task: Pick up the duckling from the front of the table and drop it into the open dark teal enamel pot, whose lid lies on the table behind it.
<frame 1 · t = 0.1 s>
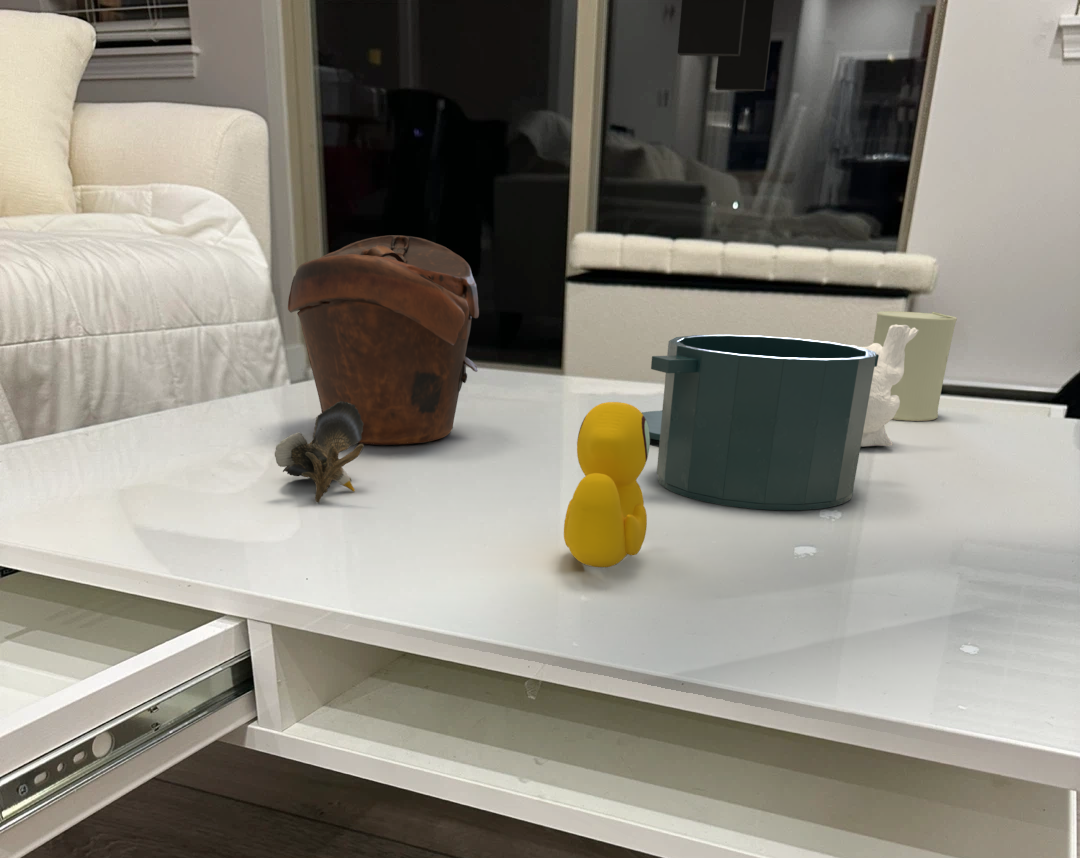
hand: (725, 75, 53), 27 cm above the table, tool pointing down, fingers open, 13 cm apart
duckling: (602, 563, 70), on the table
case: (389, 436, 105), on the table
green tapered cup: (898, 415, 130), on the table
eagle figurine: (326, 492, 84), on the table
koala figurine: (866, 447, 111), on the table
pot: (753, 485, 91), on the table
lid: (708, 430, 111), point 1 cm above the table
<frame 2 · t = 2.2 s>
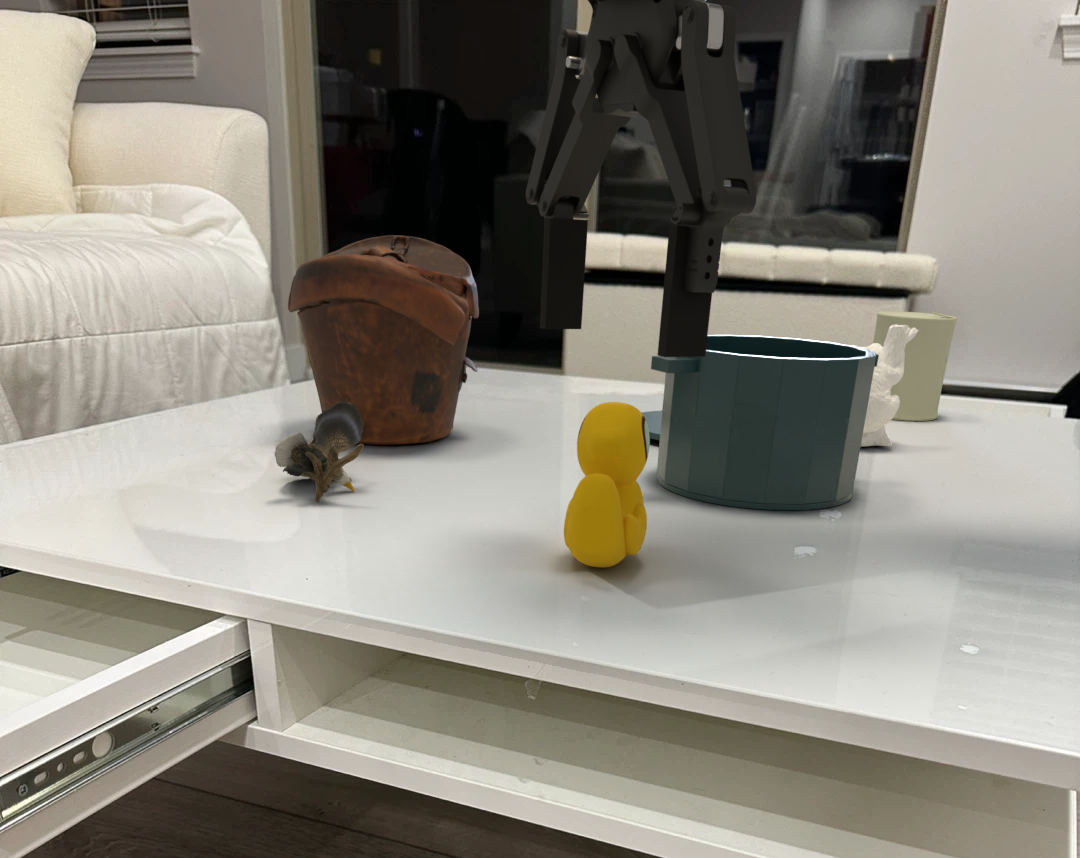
hand: (615, 342, 64), 14 cm above the table, tool pointing down, fingers open, 13 cm apart
nothing on the table moved.
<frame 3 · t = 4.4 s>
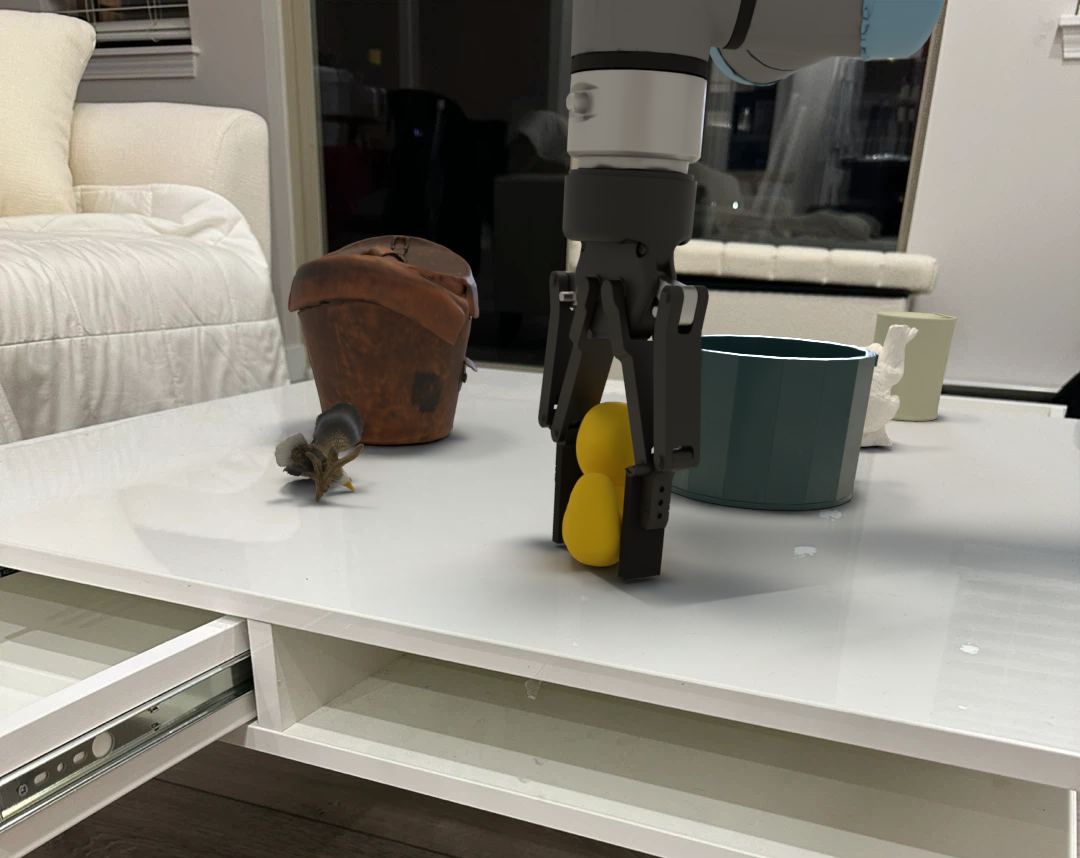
hand: (603, 557, 69), 0 cm above the table, tool pointing down, fingers closed on duckling, 8 cm apart
duckling: (601, 562, 70), on the table, touching gripper
everything else where it was.
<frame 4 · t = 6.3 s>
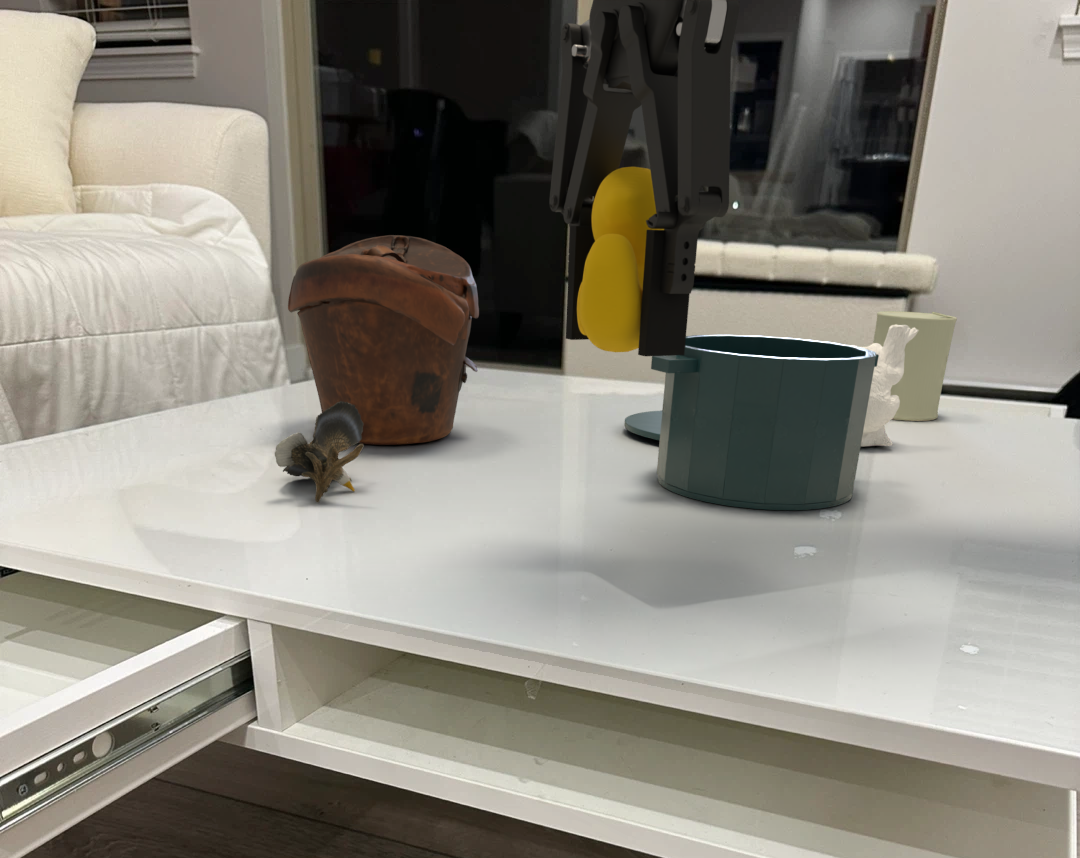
hand: (622, 345, 64), 13 cm above the table, tool pointing down, fingers closed on duckling, 8 cm apart
duckling: (619, 354, 64), point 13 cm above the table, touching gripper
everything else where it was.
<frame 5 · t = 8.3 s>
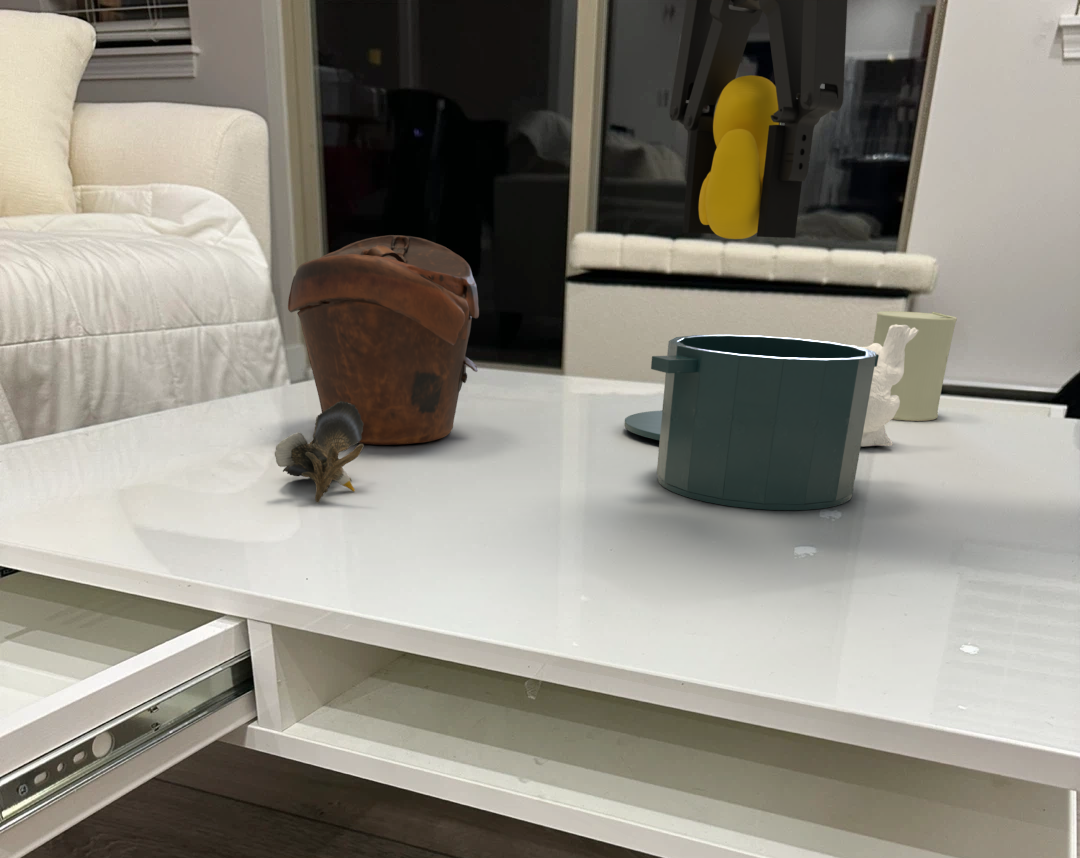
hand: (736, 234, 74), 20 cm above the table, tool pointing down, fingers closed on duckling, 8 cm apart
duckling: (733, 242, 74), point 19 cm above the table, touching gripper
everything else where it was.
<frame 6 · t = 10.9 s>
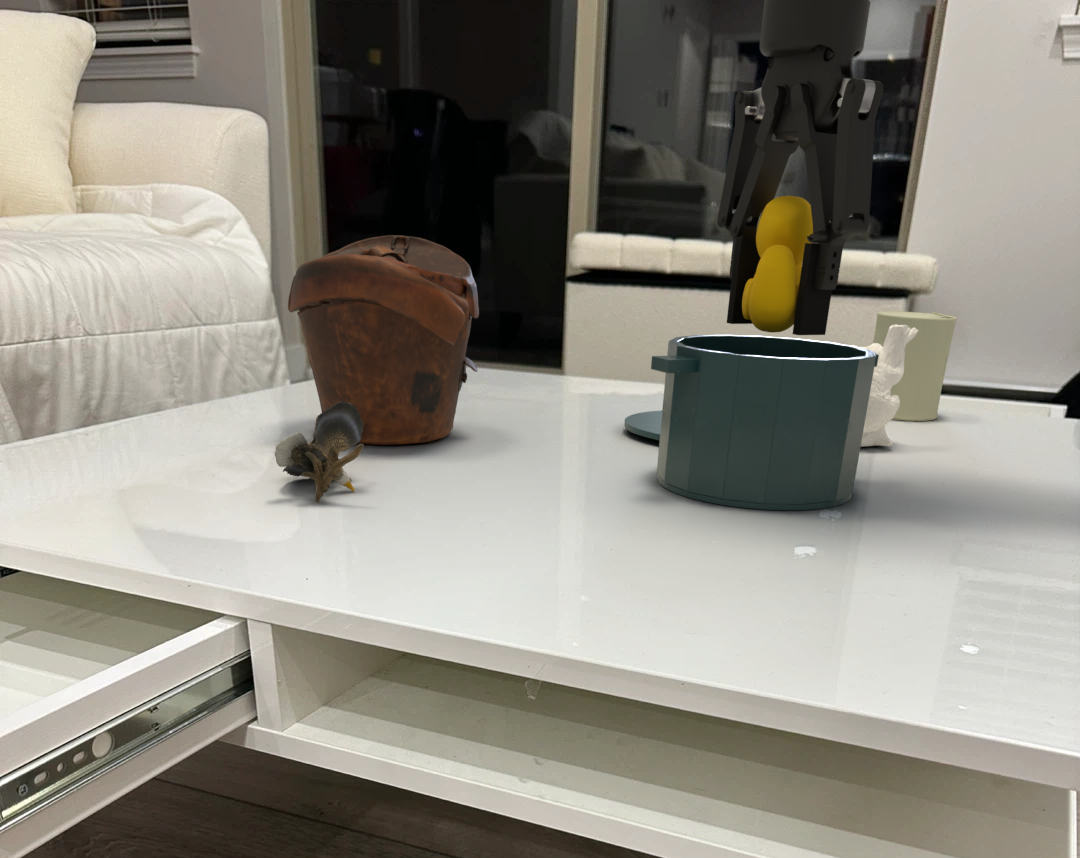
hand: (774, 328, 86), 13 cm above the table, tool pointing down, fingers closed on duckling, 8 cm apart
duckling: (771, 334, 86), point 12 cm above the table, touching gripper
everything else where it was.
when the fingers open (9 cm above the table, at t = 12.4 s): duckling drops 8 cm, resting on pot.
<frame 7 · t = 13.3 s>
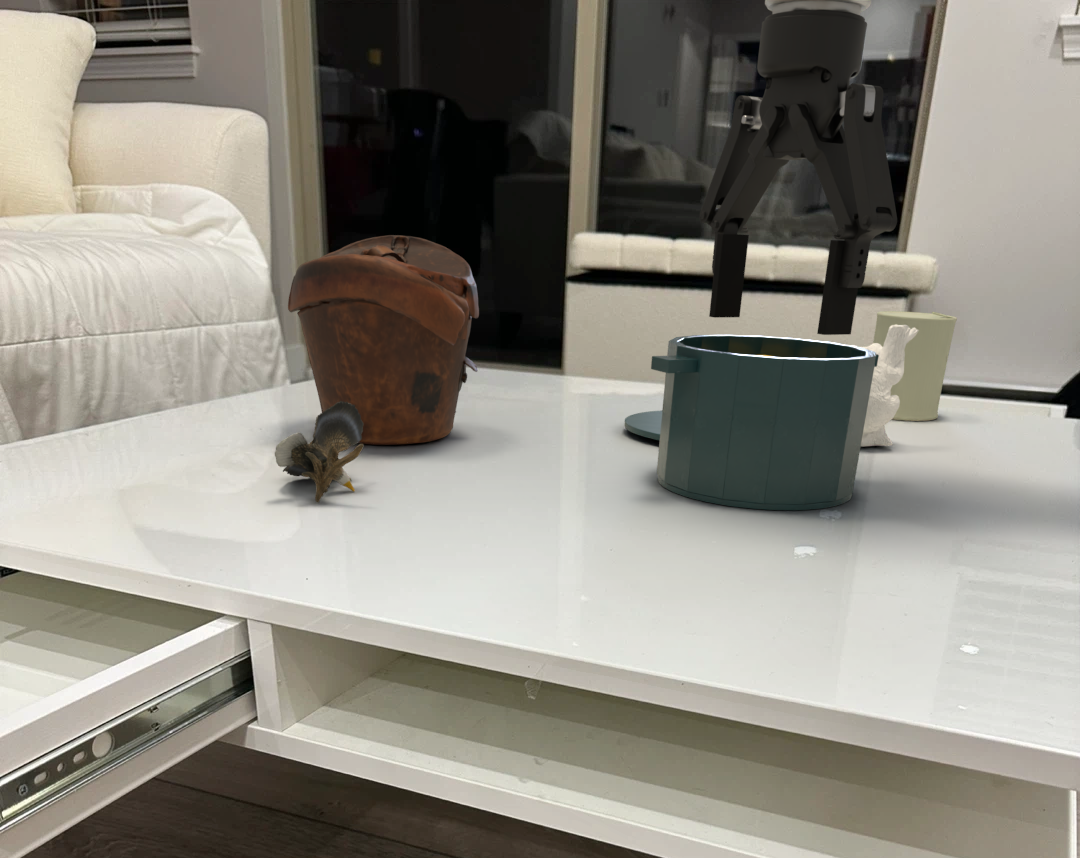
hand: (775, 325, 86), 13 cm above the table, tool pointing down, fingers open, 13 cm apart
duckling: (746, 477, 93), resting on pot
everything else where it was.
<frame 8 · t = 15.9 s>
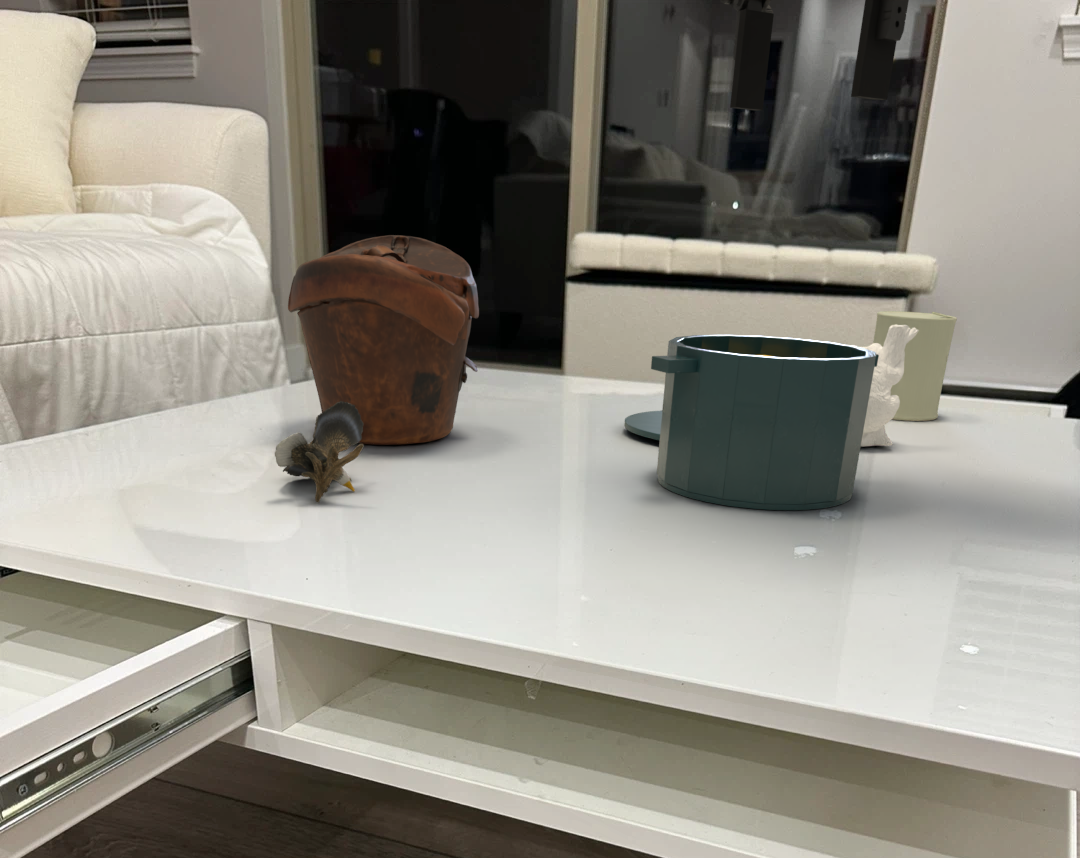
hand: (803, 104, 79), 29 cm above the table, tool pointing down, fingers open, 13 cm apart
nothing on the table moved.
at the end: duckling inside the target area in the pot (1.8 cm from its centre), point 0.3 cm above the pot's base; the gripper is holding nothing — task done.
